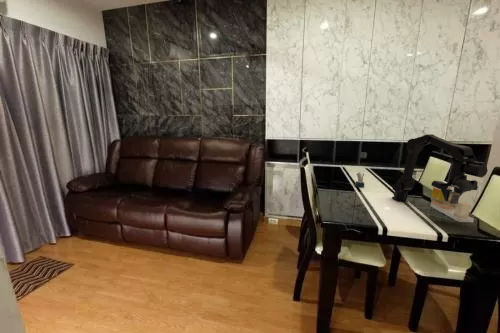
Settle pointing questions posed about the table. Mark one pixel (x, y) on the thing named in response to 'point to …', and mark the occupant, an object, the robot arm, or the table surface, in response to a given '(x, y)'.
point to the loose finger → (452, 199)
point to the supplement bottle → (437, 194)
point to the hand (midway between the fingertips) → (450, 201)
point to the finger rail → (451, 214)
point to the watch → (360, 180)
